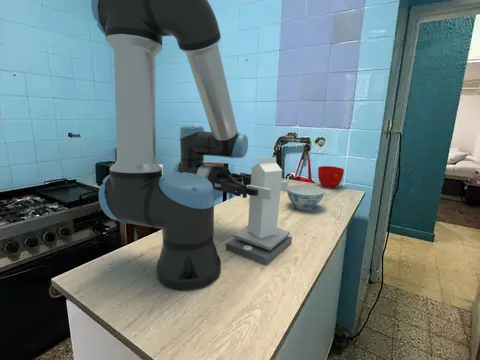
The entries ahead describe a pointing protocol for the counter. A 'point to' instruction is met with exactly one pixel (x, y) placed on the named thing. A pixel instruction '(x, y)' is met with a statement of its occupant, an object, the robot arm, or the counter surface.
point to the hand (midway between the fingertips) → (279, 190)
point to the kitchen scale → (259, 245)
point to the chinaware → (305, 196)
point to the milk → (264, 210)
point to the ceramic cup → (330, 176)
